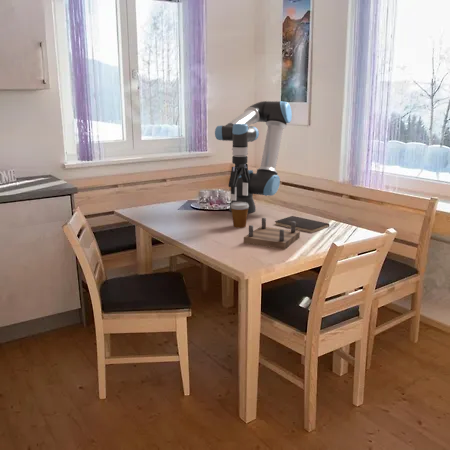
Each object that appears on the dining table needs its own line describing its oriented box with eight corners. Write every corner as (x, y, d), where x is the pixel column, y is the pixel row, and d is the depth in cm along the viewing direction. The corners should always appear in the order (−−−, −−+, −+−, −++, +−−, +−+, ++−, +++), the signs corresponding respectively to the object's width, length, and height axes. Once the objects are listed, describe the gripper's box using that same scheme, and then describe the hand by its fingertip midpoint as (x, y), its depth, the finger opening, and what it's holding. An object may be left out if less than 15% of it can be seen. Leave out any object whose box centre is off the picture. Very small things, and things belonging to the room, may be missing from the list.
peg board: (260, 232, 245) (261, 216, 243) (299, 237, 236) (300, 221, 234) (243, 243, 228) (243, 226, 226) (284, 249, 219) (285, 232, 217)
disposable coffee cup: (247, 229, 250) (247, 206, 247) (228, 228, 252) (228, 205, 248) (250, 224, 259) (250, 201, 256) (232, 223, 261) (232, 201, 257)
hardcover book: (311, 234, 243) (311, 229, 243) (274, 225, 259) (274, 221, 258) (329, 227, 255) (329, 223, 254) (292, 219, 270) (293, 215, 269)
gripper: (243, 152, 258) (243, 192, 263) (221, 157, 236) (221, 201, 242) (257, 153, 254) (256, 194, 260) (235, 158, 233) (235, 203, 238)
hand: (239, 197), depth 251 cm, fingers open, 13 cm apart
